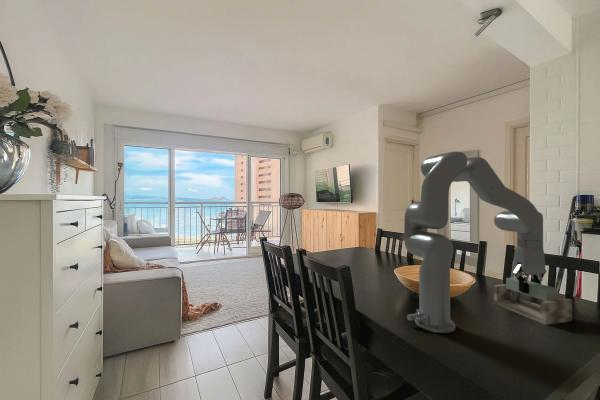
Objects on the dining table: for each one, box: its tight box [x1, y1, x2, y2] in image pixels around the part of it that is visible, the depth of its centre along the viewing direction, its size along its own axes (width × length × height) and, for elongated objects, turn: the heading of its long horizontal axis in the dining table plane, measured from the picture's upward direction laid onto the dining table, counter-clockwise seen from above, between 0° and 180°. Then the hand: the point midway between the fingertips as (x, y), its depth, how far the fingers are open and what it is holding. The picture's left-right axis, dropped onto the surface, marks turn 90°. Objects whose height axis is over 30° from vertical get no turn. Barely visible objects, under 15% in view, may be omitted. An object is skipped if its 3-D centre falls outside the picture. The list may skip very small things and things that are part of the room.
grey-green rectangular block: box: [505, 276, 558, 301], centre depth 100 cm, size 14×5×4 cm, turn 15°
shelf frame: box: [493, 283, 573, 326], centre depth 100 cm, size 12×19×8 cm, turn 12°
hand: (529, 291), depth 100 cm, fingers closed on grey-green rectangular block, 5 cm apart
